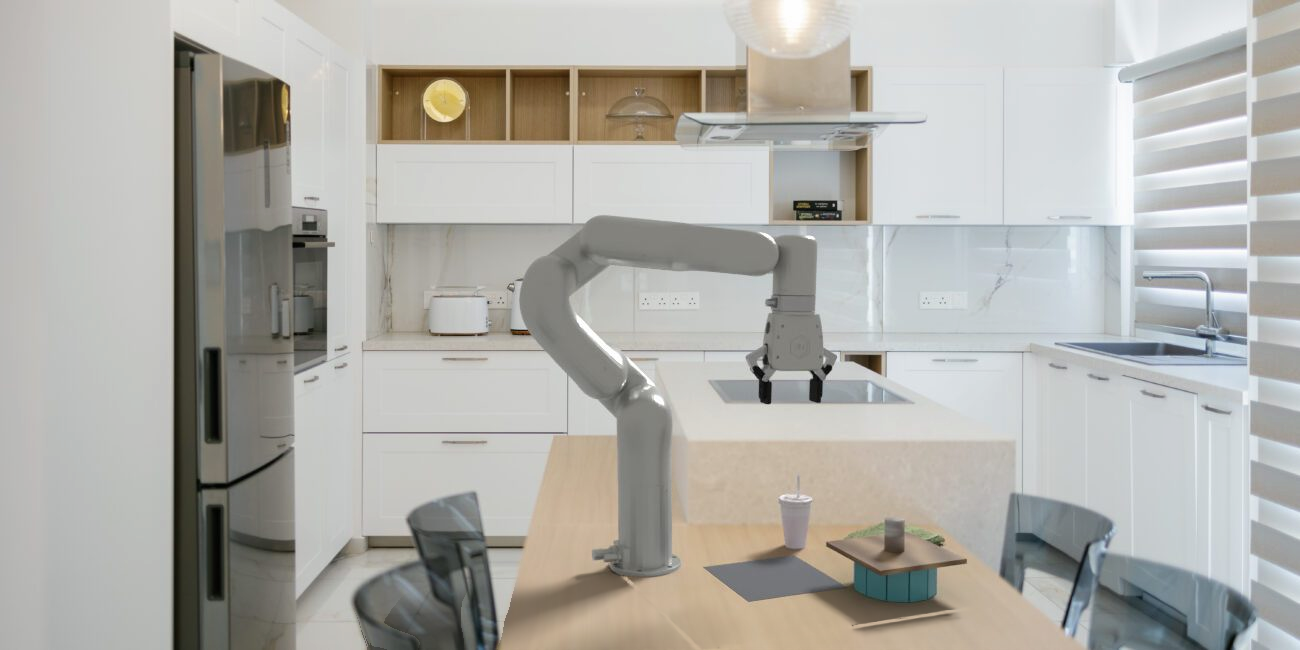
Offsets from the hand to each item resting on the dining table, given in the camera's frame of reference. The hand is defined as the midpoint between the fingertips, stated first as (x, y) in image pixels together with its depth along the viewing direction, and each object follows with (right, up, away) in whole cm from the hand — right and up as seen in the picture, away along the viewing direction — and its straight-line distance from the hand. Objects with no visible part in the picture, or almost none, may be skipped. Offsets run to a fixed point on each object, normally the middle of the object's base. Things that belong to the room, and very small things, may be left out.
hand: (790, 402), depth 167 cm
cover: (+15, -24, -12) cm, 31 cm away
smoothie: (+3, -29, +11) cm, 31 cm away
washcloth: (+21, -29, +13) cm, 38 cm away
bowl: (+15, -30, -12) cm, 36 cm away
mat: (-4, -30, -6) cm, 30 cm away
